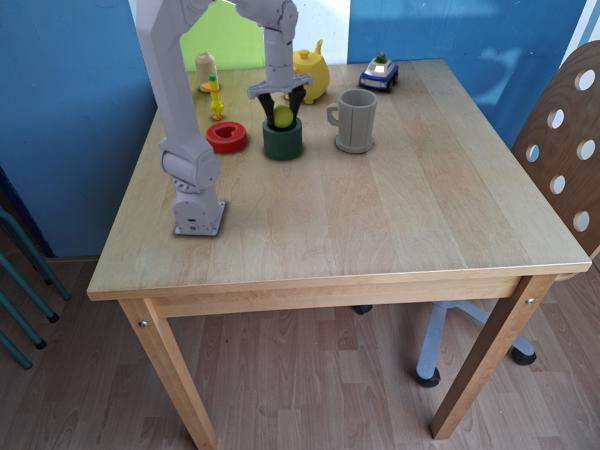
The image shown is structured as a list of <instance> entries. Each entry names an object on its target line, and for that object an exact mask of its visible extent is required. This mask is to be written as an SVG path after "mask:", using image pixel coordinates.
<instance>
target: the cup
mask: <svg viewBox="0 0 600 450" xmlns="http://www.w3.org/2000/svg"><path fill="white" fill-rule="evenodd" d="M378 102H379V98H378V96H377V94H375V93H374V92H372V91H370V90H368V89H363V88H351V89H346V90H344V91H341V93H339V95H338V97H337V103H330V104H329V105H328V106H327V107H326V121H327V123H328V124H329V125H330V126H333V127H337V135H336V137H335V144H336V146H337V148H338V149H340V150H341V151H343V152H345V153H349V154H361V153H365V152H367V151H369V150H370V149H371V148H372V147H373V143H374V139H373V128H374V121H375V116H376V112H377V107H378ZM333 112H337V113H338V117H337V118H338V119H336V117H335V116H334V114H333Z"/></svg>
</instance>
